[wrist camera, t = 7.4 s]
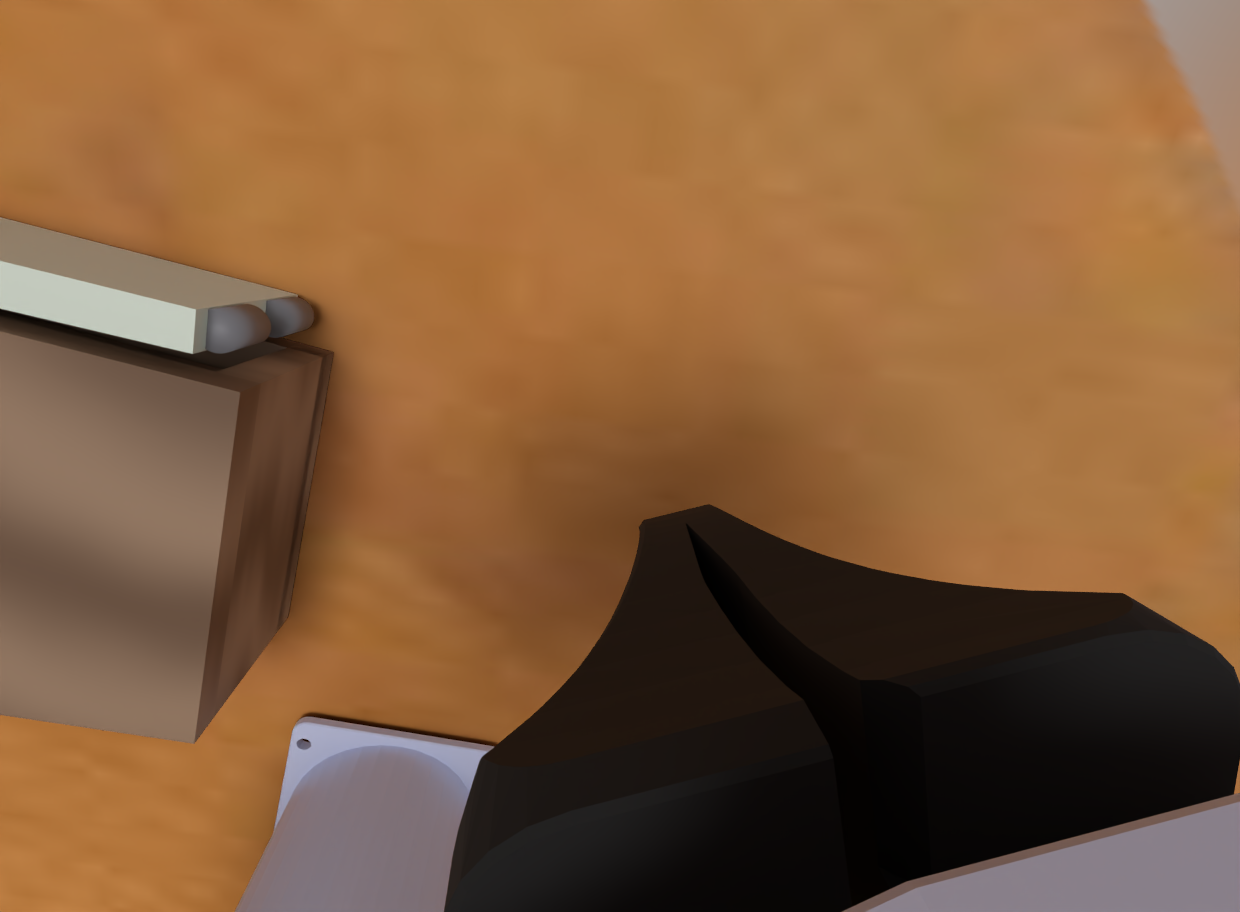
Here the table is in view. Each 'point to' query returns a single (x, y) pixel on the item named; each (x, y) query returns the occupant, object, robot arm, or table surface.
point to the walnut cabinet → (146, 520)
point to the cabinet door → (138, 294)
